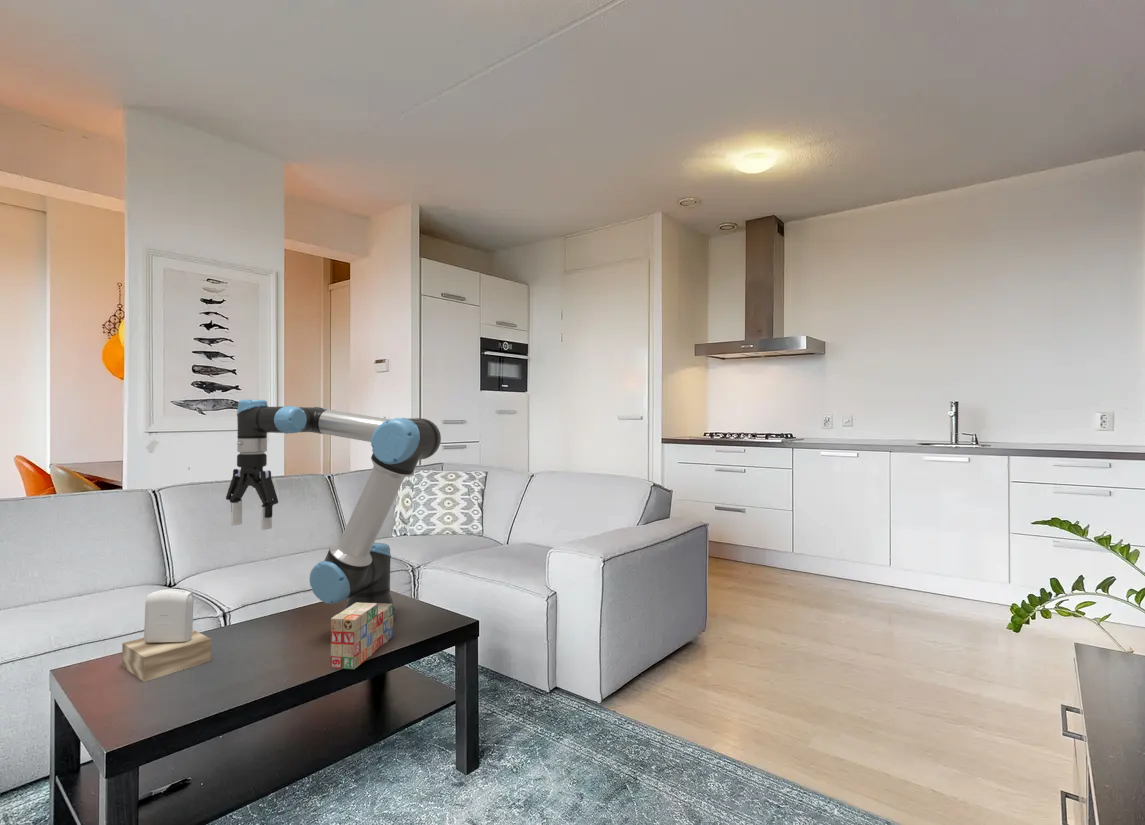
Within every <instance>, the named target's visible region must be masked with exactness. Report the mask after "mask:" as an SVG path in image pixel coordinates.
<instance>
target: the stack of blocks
mask: <svg viewBox="0 0 1145 825" xmlns="http://www.w3.org/2000/svg"><path fill="white" fill-rule="evenodd" d="M393 605H394V603H393V604H385V603H359V602H356V603H354V604H353V605H351V606H350V607H348V608H347V609H345V608H344V610H342V611H340V612H339V613H337V614H335V615H333V617H331V618H330V668H331V667H335V668H334V669H340V668H344V670H355V669H356V668H358V667H359V666H360V665H362V664H363V663H364V662H366V661H367V660H368V659H369V658H370V657H371V656H372V655H373V654H375V651H376V650H377V649H378V648H379V647H380V646H381V647H382V646H384V645H385V644H386V643H387V642H389V641H390V640H391V639H392V638H393V637H394V622H393ZM392 636H393V637H392ZM391 637H392V638H391ZM390 638H391V639H390ZM389 639H390V640H389ZM388 640H389V641H388ZM384 643H385V644H384ZM383 644H384V645H383ZM381 647H380V648H381ZM380 648H379V649H380ZM379 649H378V650H379ZM378 650H377V651H378ZM377 651H376V652H377ZM372 653H373V654H372ZM369 656H370V657H369ZM368 657H369V658H368ZM367 658H368V659H367Z"/></svg>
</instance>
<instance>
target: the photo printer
mask: <svg viewBox="0 0 1145 825" xmlns="http://www.w3.org/2000/svg"><path fill="white" fill-rule="evenodd" d="M194 600H195V599H194V594H193V592H191V591H188V590H185V589H178V588H177V589H176V588H168V589H167V588H166V589H161V590H160V589H159V590H156V591H153V592H151V593H148V595H147V596H146V599H145V605H144V606H145V607H144V630H143V631H144V632H143V635H144V636H143V638H144V642H186V641H189V640H190V639H191V638H192V629H193V628H194V627H193V624H194V603H195V602H194ZM193 630H194V629H193Z"/></svg>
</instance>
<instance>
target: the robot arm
mask: <svg viewBox="0 0 1145 825" xmlns="http://www.w3.org/2000/svg"><path fill="white" fill-rule="evenodd" d="M236 416H237V420H236V422H237V436H236V438H237V442H236V444H237V445H236V446H237V449H236V450H237V453H238V454H237V455H236V466H237V467H238V468H234V469H233V470H232V478H231V481H230V484H229V488H228V490H227V493H226V496H225V500H227V501H229V502H230V508H231V510H230V513H231V514H230V515H231V520H230V521H231V525H230V526H237V525H243V499H242V498H243V497H244V495H245V493H246V491H247V489H248V487H252V488H254V489H255V491H256V493H257V495H258V497H259V499H260V501H261V503H262V504H261V507H260V510H261V512H260V518H261V519H260V530H261V531H265V530H271V529H272V527H273V525H272V524H273V523H272V522H273V521H272V520H273V506H274V505H277V504H278V503H279V499H278V495H277V493H276V489H275V486H274V483H273V479H272V471H271V470H264V467H266V466H267V465H268V464H267V460H268V458H267V457H268V456H267V455H268V454H266V452H268V434H269V433H273V434H274V433H275V434H286V435H287V434H297V433H315V434H319V435H328V436H332V437H333V436H334V437H338V438H339V437H340V438H344V439H345V438H346V439H352V440H357V441H363V442H368V443H370V446H371V451H372V454H371V457H370V460H371V462H372V465H373V467H372V469H371V471H370V473H369V475H368V478H367V479H366V482H365V484H364V486H363V488H362V490H361V493H360V496H359V498H358V500H357V502H356V504H355V507H354V509H353V510H352V513H351V514H350V517H349V520H348V522H347V524H346V527H345V528H344V531H343V532H342V534H341V537H340V539H339V541H337V542H334V543H332V544H331V546H330V547H329V549H328V551H327V554H326V555H325V558H324V560H321V561H319V562H317V564H315V565H314V566H313V568H311V570H310V574H309V585H310V587H311V589H312V590H311V591H312V592H313V595H314V596H315V597H316V598H317V599H319V600H320V601H321V602H323V603H325V604H330V605H331V604H333V605H334V604H338V603H340V602H345V601H346V600H347V601H346V605H345V608H344V610H345V609H347V608H348V607H350V606H351V605H353V604H354V603H356V602H359V603H385V604H393V623H394V622H395V621H396V619H397V611H396V607H395V606H394V602H393V598H392V595H391V558H392V554H391V547H390V545H389V544H387V543H385V542H384V543H383V542H376V540H377V538H378V535H379V533H380V531H381V528H382V527H383V525H384V523H385V521H386V518H387V516H388V514H389V512H390V510H391V507H392V505H393V503H394V500H395V499H396V496H397V495H398V492H399V490H400V488H401V486H402V484H403V481H404V479H405V478H406V477H410V476H411V475H412V474H413V473H414V471H415V469H416V468H417V465H418V463H419V461H420V460H426V459H429V458H430V457H432V456H433V455H434V454H435V453H437V451H438V449H439V447H440V446H441V443H442V441H441V440H442V436H441V432H440V430H439V427H438V426H437V425H436V424H435V423H434V422H433V421H431V420H429V419H426V418H419V417H417V418H407V417H395V418H391V419H390V418H384V417H378V416H371V415H363V414H357V413H350V412H344V411H337V410H332V409H327V408H324V407H321V406H319V407H318V406H314V407H313V406H311V407H302V406H293V405H292V406H291V405H290V406H289V405H287V406H286V405H285V406H268V401H267V400H266V399H240V400H239V401H238V404H237V412H236Z"/></svg>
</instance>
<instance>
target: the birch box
mask: <svg viewBox="0 0 1145 825" xmlns="http://www.w3.org/2000/svg"><path fill="white" fill-rule="evenodd" d="M121 645H122V650H121V652H122V653H121V654H122V655H121V662H122V663H121V666H123V667H122V668H124V669H125V668H126V670H127V671H128V672H129V673H130V674H133V675H134V676H135V677H137V678H138V679H139V680H141V682H144V683H145V682H148V681H151V680H154V679H155V680H156V679H158V678H161V677H165V676H167V675H171V674H174V672H175V673H178V672H181V671H184V670H187V668H188V669H190V667H191V668H194V667H197V665H198V666H200V664H201V665H204V664H206V662H207V663H210V661H211V662H212V638H210V637H208V636H207V635H204V634H203V633H201V632H198V631H196V630H194V629H192V638H191V639H190V640H189V641H186V642H144V637H142V638H138V639H133V640H130V641H126V642H123V643H122V644H121ZM203 663H204V664H203ZM183 669H184V670H183ZM180 670H181V671H180ZM177 671H178V672H177Z"/></svg>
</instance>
